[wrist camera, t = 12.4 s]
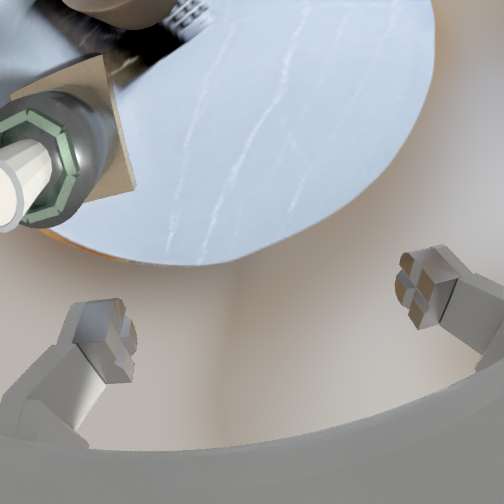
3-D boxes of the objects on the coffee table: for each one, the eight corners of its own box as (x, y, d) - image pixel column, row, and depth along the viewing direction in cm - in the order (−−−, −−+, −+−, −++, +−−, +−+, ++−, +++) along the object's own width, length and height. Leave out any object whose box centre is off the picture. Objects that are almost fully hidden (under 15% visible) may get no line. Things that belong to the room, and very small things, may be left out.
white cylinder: (14, 203, 25) (-19, 238, 19) (-3, 142, 21) (-44, 168, 15) (64, 191, 26) (34, 227, 20) (49, 124, 22) (10, 146, 16)
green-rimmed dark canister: (17, 92, 28) (-42, 112, 17) (107, 54, 28) (63, 53, 18) (51, 207, 38) (12, 258, 27) (136, 184, 39) (113, 235, 28)
